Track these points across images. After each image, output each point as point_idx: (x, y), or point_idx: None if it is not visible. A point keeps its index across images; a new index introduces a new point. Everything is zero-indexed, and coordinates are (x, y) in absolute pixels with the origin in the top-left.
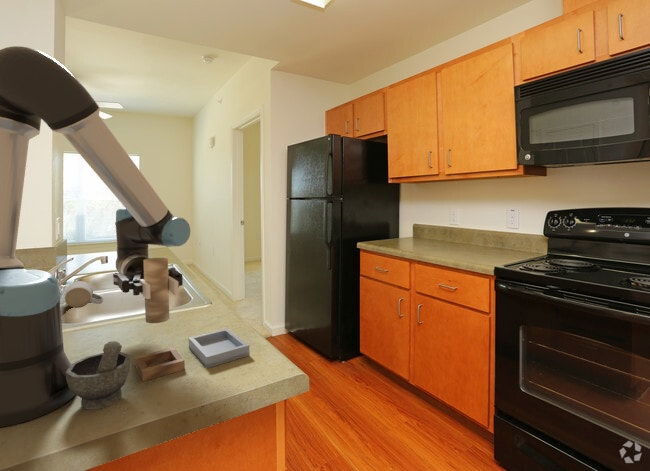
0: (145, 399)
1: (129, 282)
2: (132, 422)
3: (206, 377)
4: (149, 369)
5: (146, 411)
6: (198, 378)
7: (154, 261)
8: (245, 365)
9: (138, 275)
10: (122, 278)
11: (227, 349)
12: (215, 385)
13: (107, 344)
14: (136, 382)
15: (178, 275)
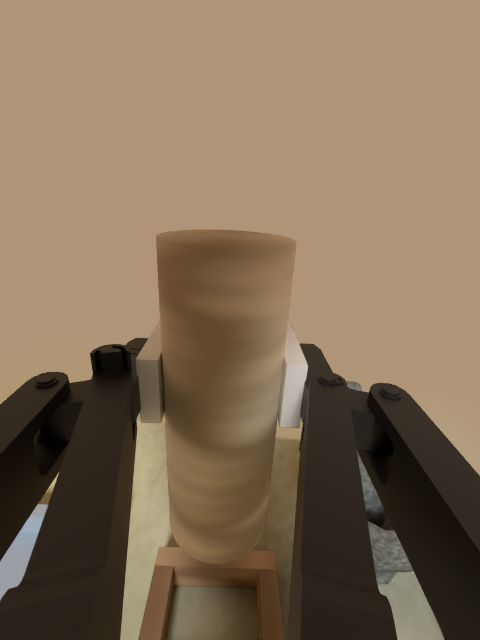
0: (273, 487)
1: (364, 401)
2: (295, 443)
3: (146, 491)
4: (256, 554)
5: (275, 455)
6: (161, 497)
7: (246, 232)
8: (49, 486)
9: (326, 503)
10: (442, 447)
11: (38, 516)
12: (153, 456)
13: (354, 382)
14: (288, 576)
15: (66, 376)
